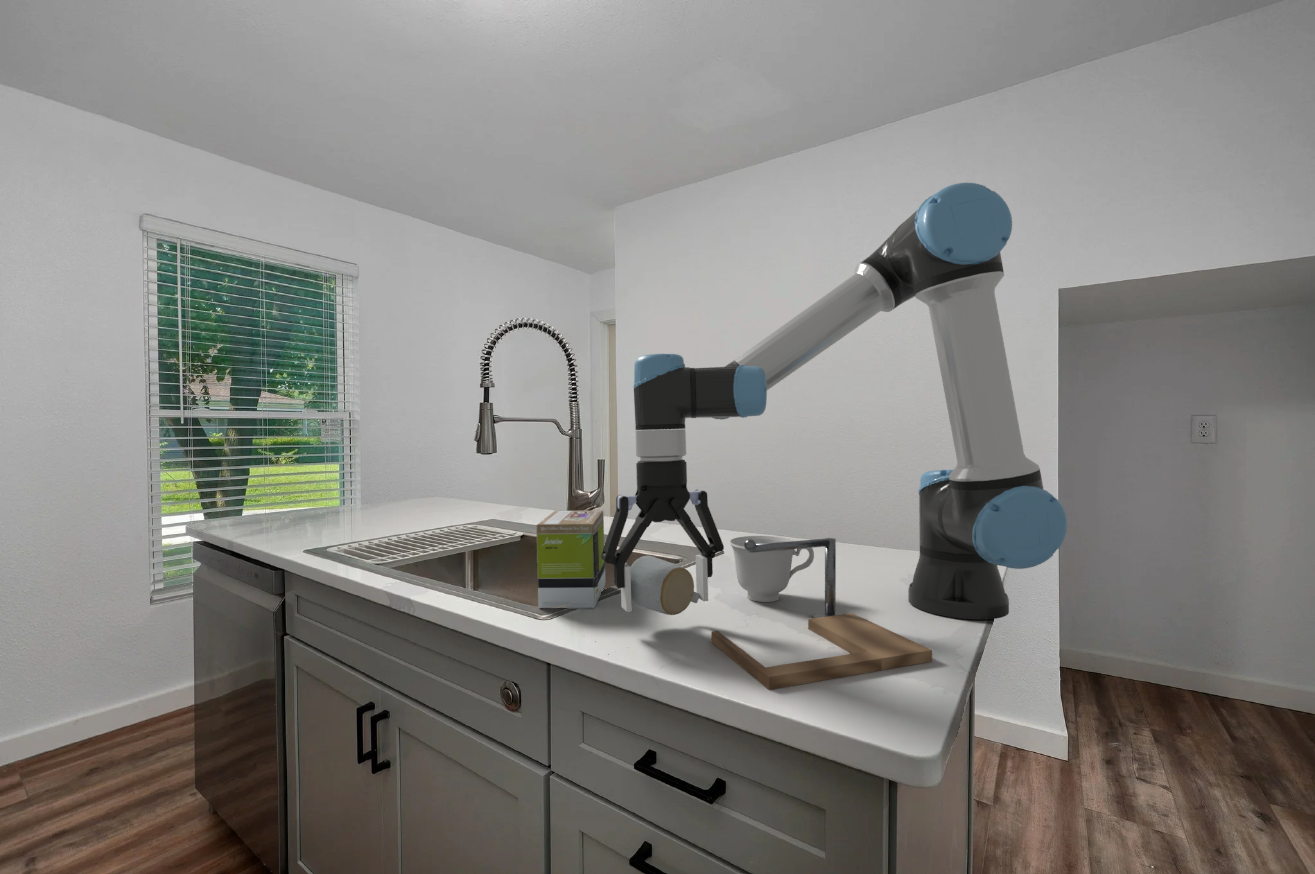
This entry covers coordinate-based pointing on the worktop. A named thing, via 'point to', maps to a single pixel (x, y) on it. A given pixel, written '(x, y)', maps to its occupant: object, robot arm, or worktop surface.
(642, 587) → the ceramic mug
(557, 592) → the tea box
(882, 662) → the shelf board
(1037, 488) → the robot arm
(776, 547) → the bent metal bar
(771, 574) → the teacup
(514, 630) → the worktop surface
